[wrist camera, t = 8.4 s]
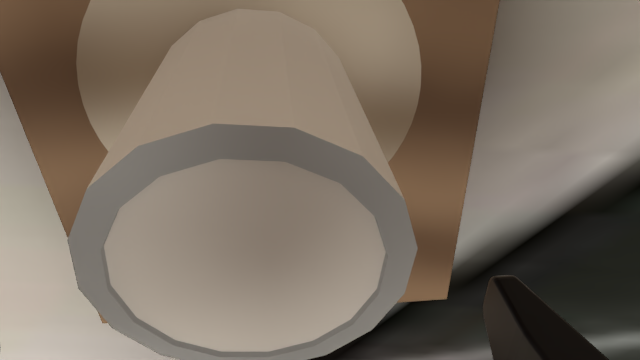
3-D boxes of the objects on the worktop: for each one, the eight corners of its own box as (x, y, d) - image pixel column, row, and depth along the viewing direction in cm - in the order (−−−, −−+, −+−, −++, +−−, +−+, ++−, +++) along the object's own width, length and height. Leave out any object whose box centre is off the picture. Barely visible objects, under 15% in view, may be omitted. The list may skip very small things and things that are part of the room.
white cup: (299, -66, 14) (320, 54, 8) (403, 135, 18) (465, 307, 12) (83, 60, 16) (-19, 231, 10) (222, 219, 19) (203, 406, 14)
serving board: (440, 280, 24) (447, 300, 23) (108, 303, 23) (102, 325, 22) (547, -373, 12) (569, -382, 11) (-147, -360, 11) (-183, -370, 10)
